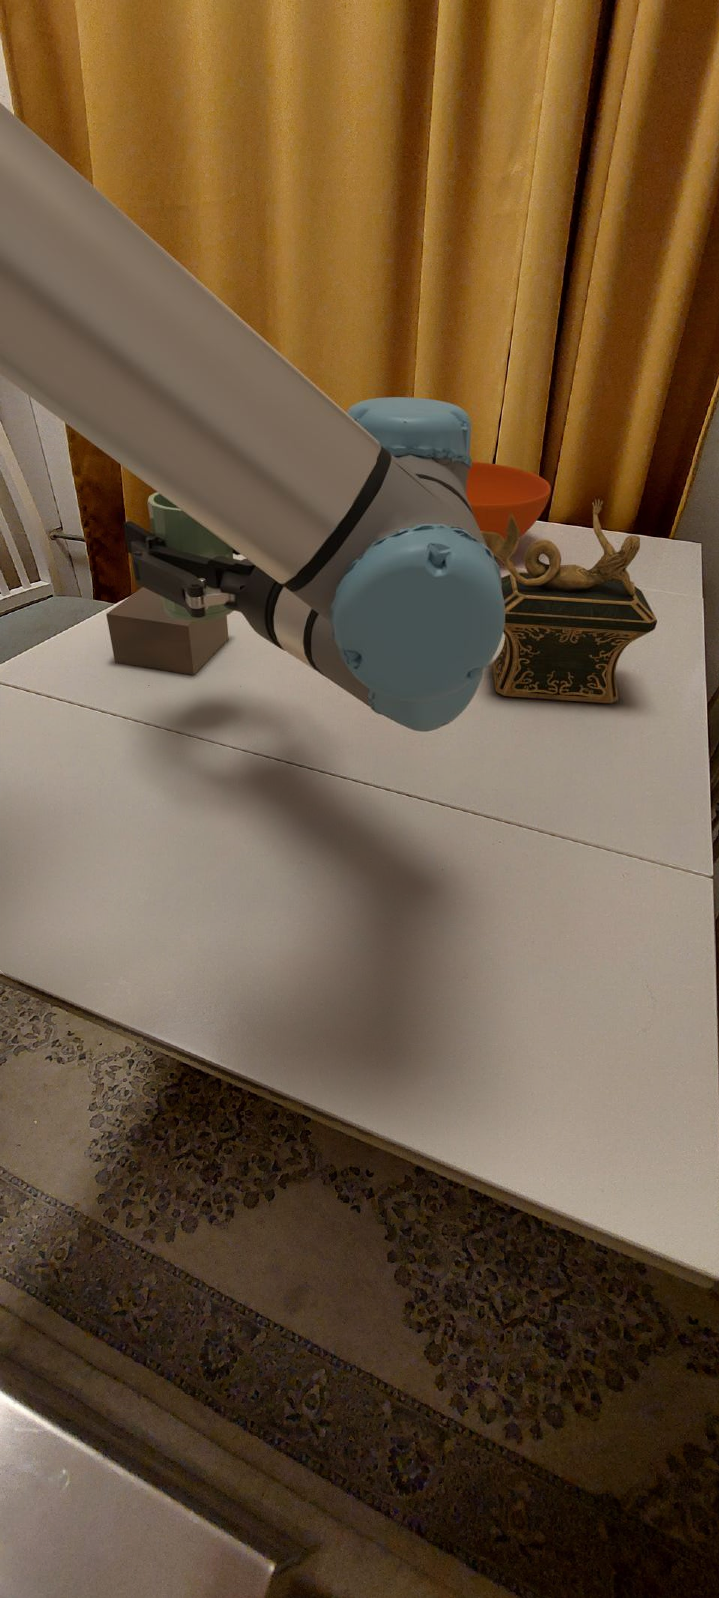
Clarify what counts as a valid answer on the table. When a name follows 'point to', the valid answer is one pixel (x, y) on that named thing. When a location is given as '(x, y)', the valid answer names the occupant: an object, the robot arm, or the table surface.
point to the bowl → (505, 497)
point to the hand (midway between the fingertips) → (167, 528)
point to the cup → (185, 547)
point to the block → (162, 636)
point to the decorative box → (566, 619)
